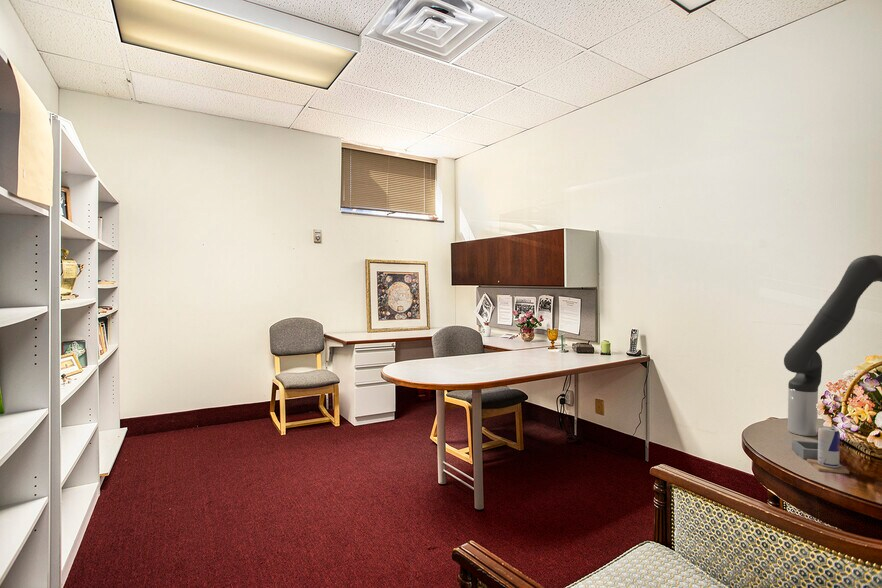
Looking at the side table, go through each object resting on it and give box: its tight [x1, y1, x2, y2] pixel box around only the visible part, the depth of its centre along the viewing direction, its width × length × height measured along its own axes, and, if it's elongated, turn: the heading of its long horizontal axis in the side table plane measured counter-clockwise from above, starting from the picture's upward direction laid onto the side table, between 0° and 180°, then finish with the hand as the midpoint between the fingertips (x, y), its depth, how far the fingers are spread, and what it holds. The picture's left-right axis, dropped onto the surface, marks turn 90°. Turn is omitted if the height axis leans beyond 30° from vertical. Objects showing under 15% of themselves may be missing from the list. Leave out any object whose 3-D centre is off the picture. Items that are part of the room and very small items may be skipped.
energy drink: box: [817, 425, 841, 468], centre depth 150 cm, size 5×5×12 cm
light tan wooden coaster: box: [806, 459, 850, 474], centre depth 151 cm, size 8×8×1 cm
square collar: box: [791, 439, 818, 461], centre depth 160 cm, size 9×9×4 cm
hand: (881, 383), depth 148 cm, fingers open, 8 cm apart
